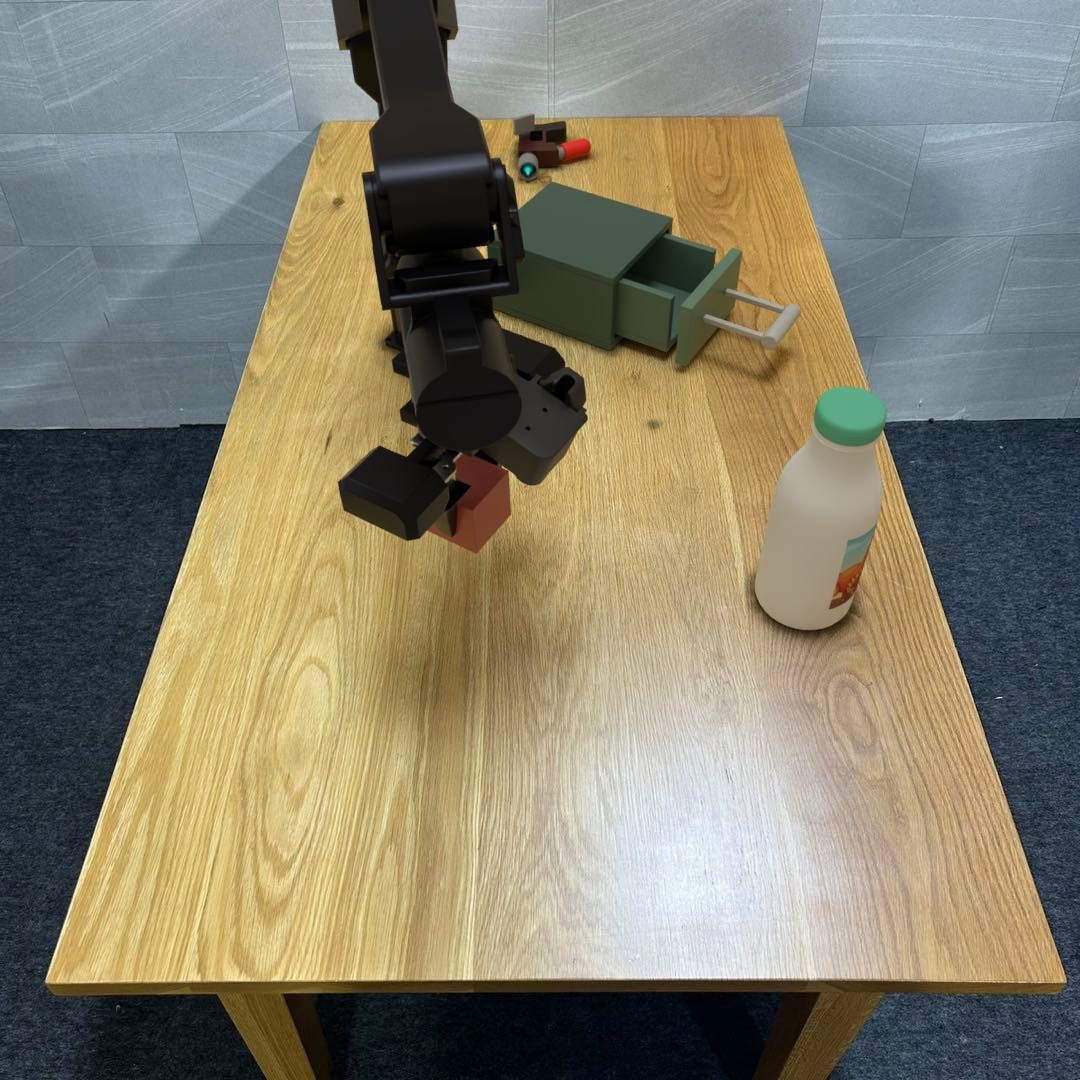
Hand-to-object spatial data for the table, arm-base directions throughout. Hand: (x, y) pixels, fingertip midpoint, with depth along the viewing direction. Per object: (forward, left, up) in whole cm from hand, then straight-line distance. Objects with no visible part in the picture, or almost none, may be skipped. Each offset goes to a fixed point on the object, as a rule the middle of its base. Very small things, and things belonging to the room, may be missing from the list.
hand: (467, 512), depth 76 cm
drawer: (-1, +40, -10) cm, 41 cm away
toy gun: (-32, +64, -11) cm, 72 cm away
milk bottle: (+22, +14, -11) cm, 28 cm away
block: (0, 0, -1) cm, 1 cm away
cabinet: (-14, +40, -10) cm, 44 cm away
